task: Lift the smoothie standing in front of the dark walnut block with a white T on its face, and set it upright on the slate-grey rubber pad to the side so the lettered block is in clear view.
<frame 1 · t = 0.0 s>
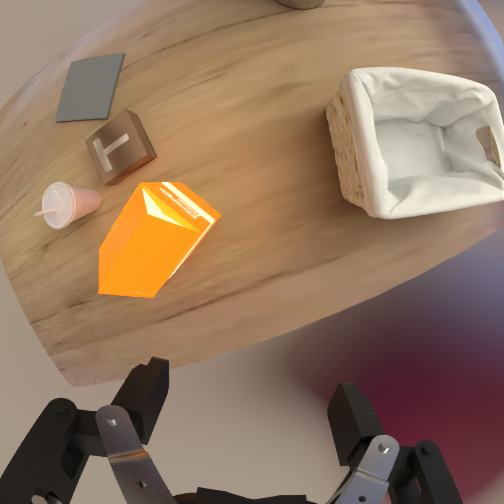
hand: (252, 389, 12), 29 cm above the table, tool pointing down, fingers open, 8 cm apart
slate pad: (88, 87, 34), on the table
lettered block: (126, 149, 37), on the table
storage basket: (396, 149, 36), on the table
orange juice: (183, 222, 40), on the table
smoothie: (92, 200, 39), on the table
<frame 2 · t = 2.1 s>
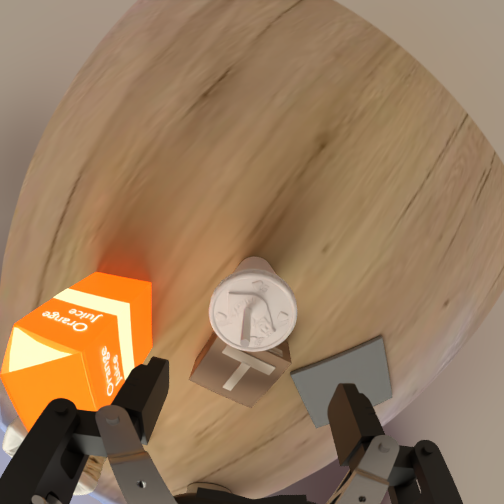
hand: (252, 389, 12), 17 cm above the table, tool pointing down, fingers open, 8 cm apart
slate pad: (346, 386, 32), on the table
lettered block: (240, 352, 31), on the table
storage basket: (69, 421, 37), on the table
orange juice: (123, 310, 30), on the table
smoothie: (254, 273, 29), on the table
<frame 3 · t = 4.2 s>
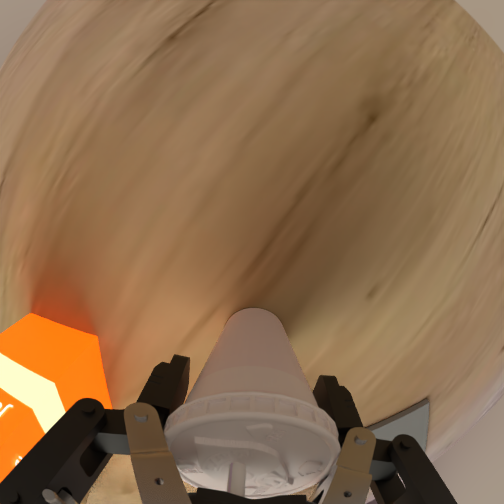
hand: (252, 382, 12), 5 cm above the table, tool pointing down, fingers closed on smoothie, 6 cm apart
slate pad: (373, 455, 20), on the table
orange juice: (70, 365, 18), on the table
smoothie: (254, 332, 17), on the table, touching gripper
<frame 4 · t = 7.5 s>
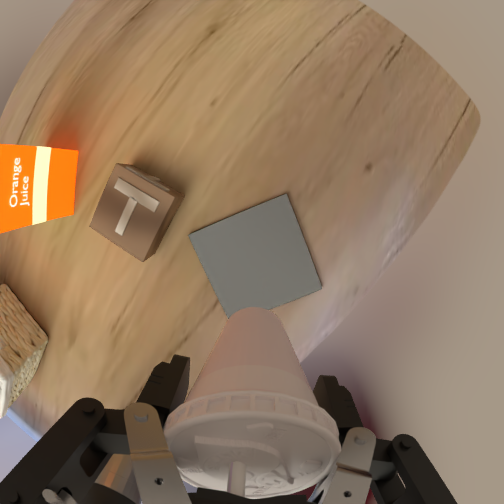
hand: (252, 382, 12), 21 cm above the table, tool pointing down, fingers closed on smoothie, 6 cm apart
slate pad: (256, 261, 32), on the table
lettered block: (142, 208, 31), on the table
storage basket: (17, 337, 38), on the table
orange juice: (57, 182, 31), on the table
smoothie: (254, 332, 17), point 16 cm above the table, touching gripper
when the fingers open (7 cm above the table, at t = 10.9 s): smoothie drops 1 cm, resting on slate pad.
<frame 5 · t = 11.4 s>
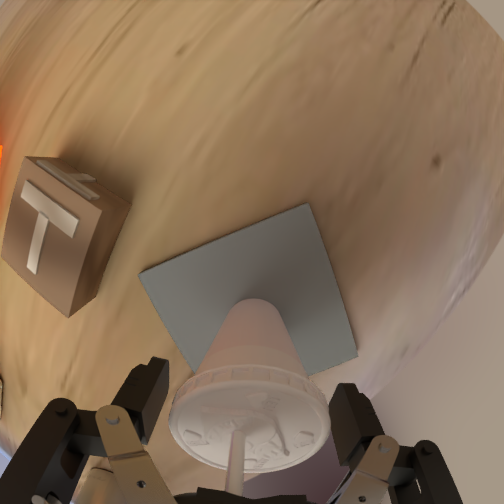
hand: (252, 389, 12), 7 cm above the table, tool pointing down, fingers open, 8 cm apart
slate pad: (254, 318, 19), on the table
lettered block: (73, 227, 18), on the table
smoothie: (254, 322, 18), resting on slate pad
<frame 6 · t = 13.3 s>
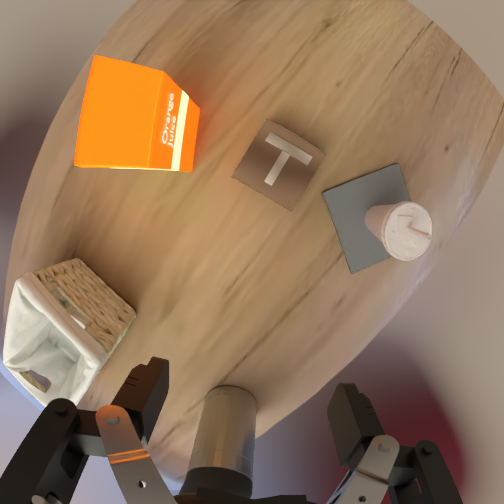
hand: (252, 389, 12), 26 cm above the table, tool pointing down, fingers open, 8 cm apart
slate pad: (375, 217, 35), on the table
lettered block: (277, 166, 34), on the table
storage basket: (84, 321, 42), on the table
orange juice: (169, 139, 34), on the table
smoothie: (376, 218, 35), resting on slate pad
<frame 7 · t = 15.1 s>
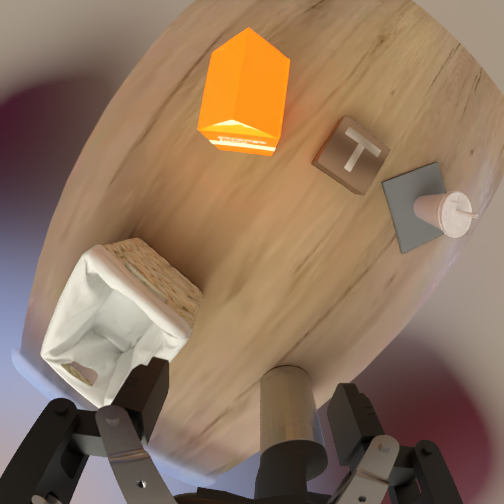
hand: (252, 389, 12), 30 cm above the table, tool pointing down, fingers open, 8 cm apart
slate pad: (420, 206, 39), on the table
lettered block: (346, 157, 37), on the table
storage basket: (136, 306, 44), on the table
orange juice: (249, 124, 37), on the table
smoothie: (421, 207, 38), resting on slate pad
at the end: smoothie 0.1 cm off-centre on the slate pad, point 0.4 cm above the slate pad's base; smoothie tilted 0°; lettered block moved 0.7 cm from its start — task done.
